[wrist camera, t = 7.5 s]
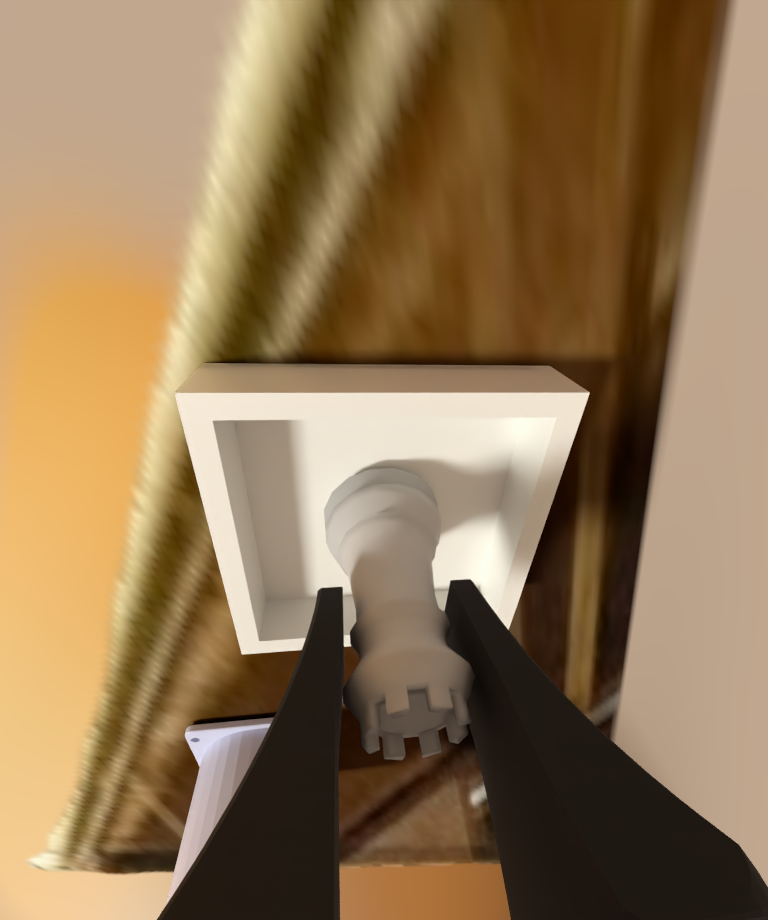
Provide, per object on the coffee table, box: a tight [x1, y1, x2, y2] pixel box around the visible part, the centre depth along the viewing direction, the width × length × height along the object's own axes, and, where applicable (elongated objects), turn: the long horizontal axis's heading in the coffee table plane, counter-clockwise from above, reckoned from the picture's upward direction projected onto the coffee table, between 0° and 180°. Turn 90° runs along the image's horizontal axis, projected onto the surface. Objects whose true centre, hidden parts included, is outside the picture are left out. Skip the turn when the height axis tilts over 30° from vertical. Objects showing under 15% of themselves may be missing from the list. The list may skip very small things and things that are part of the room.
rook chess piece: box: [324, 468, 475, 760], centre depth 12 cm, size 4×4×8 cm
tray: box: [175, 363, 590, 654], centre depth 15 cm, size 12×12×2 cm
